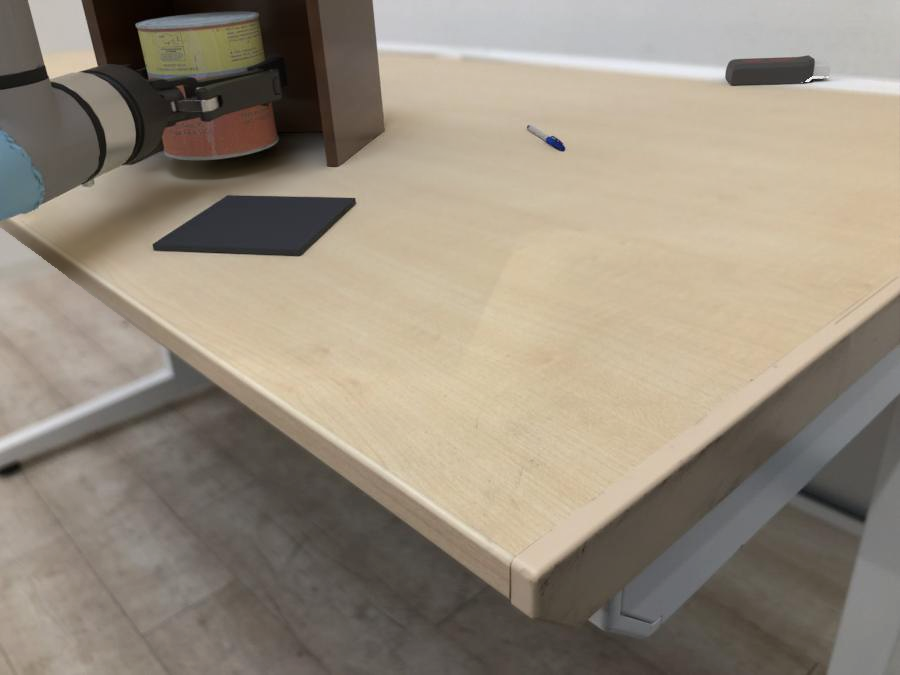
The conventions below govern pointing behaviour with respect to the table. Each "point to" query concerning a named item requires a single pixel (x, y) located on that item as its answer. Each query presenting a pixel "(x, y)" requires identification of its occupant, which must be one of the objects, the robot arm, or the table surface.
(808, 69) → the usb drive
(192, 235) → the mat
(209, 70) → the canned food
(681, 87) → the table surface
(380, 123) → the cubby
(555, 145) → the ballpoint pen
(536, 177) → the table surface
